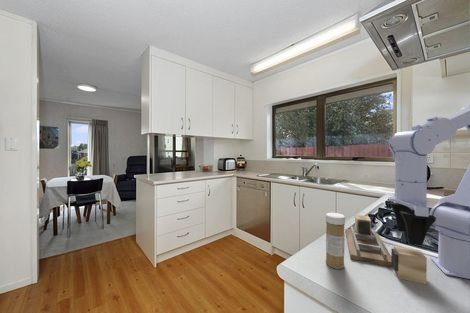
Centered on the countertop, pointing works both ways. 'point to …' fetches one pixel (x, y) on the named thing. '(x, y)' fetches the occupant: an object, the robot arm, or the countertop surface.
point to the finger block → (409, 264)
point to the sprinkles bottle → (335, 240)
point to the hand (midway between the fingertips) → (409, 237)
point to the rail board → (366, 243)
